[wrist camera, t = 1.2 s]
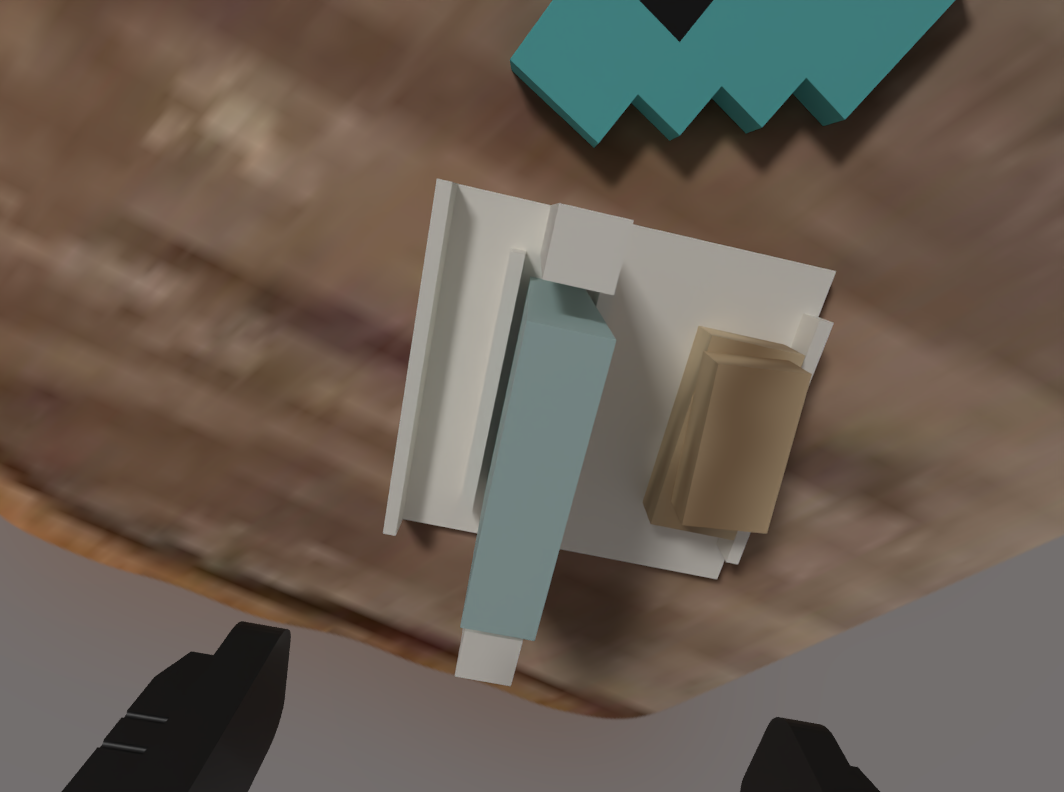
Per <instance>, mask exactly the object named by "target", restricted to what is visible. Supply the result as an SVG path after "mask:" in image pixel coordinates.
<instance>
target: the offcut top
mask: <svg viewBox="0 0 1064 792" xmlns="http://www.w3.org/2000/svg"><path fill="white" fill-rule="evenodd" d="M811 376H812V374H811V373H809V372H808V371H806V370H804V369H802V368H801V367H799V366H797V365H796V364H794V363H792V362H791V361H789V360H780V359H771V358H762V357H752V356H743V355H734V354H725V353H716V352H707V351H703V355H702V359H701V364H700V369H699V373H698V378H697V383H696V387H695V392H694V397H693V401H692V406H691V411H690V415H689V420H688V424H687V429H686V434H685V438H684V443H683V448H682V452H681V457H680V462H679V466H678V471H677V476H676V480H675V485H674V490H673V494H672V499H671V502H672V505H673V507H674V509H675V511H676V513H677V515H678V518H679V520H680V522H681V524H682V525H685V526H695V527H705V528H715V529H724V530H734V531H744V532H754V533H764V534H767V532H768V528H769V525H770V521H771V517H772V514H773V510H774V507H775V503H776V500H777V496H778V493H779V489H780V486H781V482H782V479H783V475H784V471H785V468H786V464H787V461H788V457H789V454H790V450H791V447H792V443H793V440H794V436H795V433H796V429H797V426H798V422H799V418H800V415H801V411H802V408H803V404H804V401H805V397H806V394H807V390H808V387H809V383H810V380H811Z"/></svg>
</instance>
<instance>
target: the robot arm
mask: <svg viewBox="0 0 1064 792" xmlns="http://www.w3.org/2000/svg"><path fill="white" fill-rule="evenodd" d="M290 638H291V634H290V630H288V629H283V628H277V627H271V626H265V625H260V624H254V623H248V622H243V621H241V622H239V623H238V624H236V626H235V627H234V628H233V629H232V630H231V632H230V633H229V634H228V636H227V637H226V639H225V640H224V642H223V643H222V644H221V646H220V647H219V648H218V650H217V651H216V653H215V654H214V655H209V654H203V653H197V652H190V653H188V654H187V655H185V656H184V657H183V658H181V659H180V660H179V661H177V662H175V663H174V664H172V665H171V666H170V667H168V668H167V669H165V670H164V671H162V672H161V673H160V674H158V675H157V676H155V677H154V678H153V679H152V681H151V682H150V683H149V684H148V686H147V687H146V688H145V689H144V691H143V692H142V693H141V694H140V696H139V697H138V698H137V699H136V701H135V702H134V703H133V704H132V705H131V707H130V708H129V709H128V710H127V714H126V716H125V717H124V718H121V719H120V720H119V722H118V723H117V724H116V725H115V727H114V728H113V729H112V730H111V731H110V733H109V734H108V735H107V736H106V738H105V739H104V741H103V744H102V746H101V747H100V748H97V749H96V750H95V751H94V753H93V754H92V755H91V756H90V757H89V759H88V760H87V761H86V762H85V764H84V765H83V766H82V767H81V769H80V770H79V771H78V772H77V774H76V775H75V776H74V777H73V778H72V780H71V781H70V782H69V783H68V785H67V786H66V787H65V788H64V790H63V791H62V792H248V790H249V788H250V786H251V784H252V782H253V780H254V778H255V776H256V774H257V772H258V770H259V768H260V766H261V764H262V762H263V760H264V758H265V756H266V754H267V752H268V750H269V748H270V745H271V743H272V741H273V738H274V736H275V733H276V730H277V728H278V725H279V721H280V718H281V714H282V710H283V706H284V700H285V690H286V680H287V670H288V660H289V649H290ZM740 792H880V791H879V790H878V789H877V788H876V787H875V786H874V785H873V783H872V782H871V781H870V780H869V779H868V778H867V777H866V776H865V775H864V774H863V773H862V771H861V770H860V769H859V768H858V767H853V766H850V765H849V763H848V761H847V759H846V758H845V756H844V754H843V752H842V750H841V749H840V747H839V745H838V743H837V742H836V740H835V738H834V736H833V735H832V733H831V732H830V731H829V730H828V729H827V728H826V727H825V726H823V725H820V724H814V723H809V722H803V721H798V720H792V719H786V718H780V717H776V718H774V719H772V721H771V722H770V723H769V725H768V727H767V729H766V731H765V733H764V735H763V737H762V740H761V742H760V744H759V746H758V748H757V750H756V753H755V754H754V756H753V759H752V761H751V763H750V765H749V767H748V769H747V772H746V773H745V776H744V778H743V781H742V785H741V791H740Z"/></svg>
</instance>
